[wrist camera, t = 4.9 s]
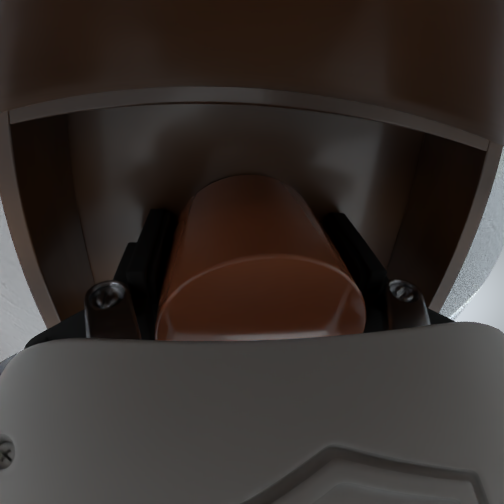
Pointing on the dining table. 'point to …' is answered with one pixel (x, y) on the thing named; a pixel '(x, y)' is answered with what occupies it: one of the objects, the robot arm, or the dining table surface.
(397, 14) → the lid
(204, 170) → the brown wooden shallow box
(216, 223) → the orange cylinder puck
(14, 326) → the dining table surface
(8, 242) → the dining table surface
